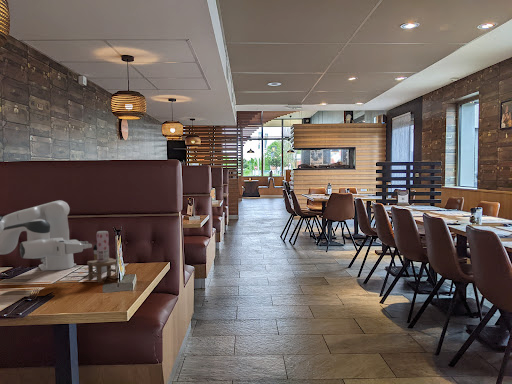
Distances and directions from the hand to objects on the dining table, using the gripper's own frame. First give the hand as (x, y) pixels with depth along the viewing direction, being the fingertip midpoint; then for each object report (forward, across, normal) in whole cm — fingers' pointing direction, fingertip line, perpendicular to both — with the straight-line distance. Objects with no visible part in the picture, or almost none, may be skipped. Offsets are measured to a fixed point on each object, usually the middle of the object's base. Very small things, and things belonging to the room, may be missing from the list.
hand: (90, 244), depth 197 cm
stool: (+6, 0, -18) cm, 19 cm away
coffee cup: (+9, -20, -18) cm, 28 cm away
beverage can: (+6, 0, -9) cm, 11 cm away
